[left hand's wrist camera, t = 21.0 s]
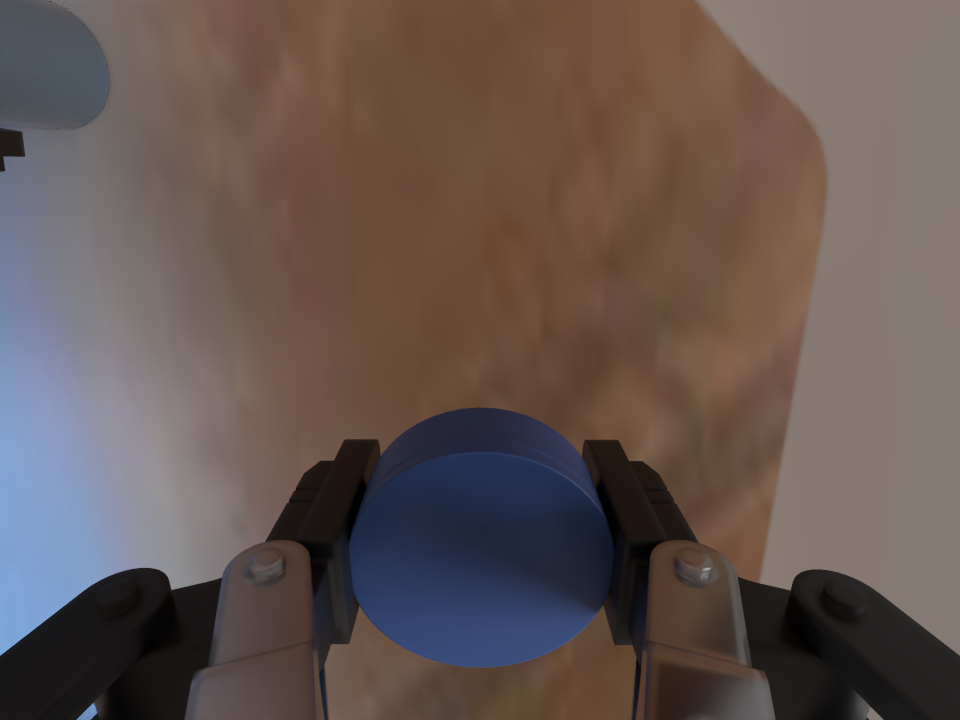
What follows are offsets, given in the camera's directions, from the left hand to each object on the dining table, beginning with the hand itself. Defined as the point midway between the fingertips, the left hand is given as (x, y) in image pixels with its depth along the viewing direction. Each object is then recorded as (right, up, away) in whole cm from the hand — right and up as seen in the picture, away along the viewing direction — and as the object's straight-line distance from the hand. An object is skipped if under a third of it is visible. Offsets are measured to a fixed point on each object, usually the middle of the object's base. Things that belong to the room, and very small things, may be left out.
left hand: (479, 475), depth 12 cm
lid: (0, -1, -2) cm, 3 cm away
